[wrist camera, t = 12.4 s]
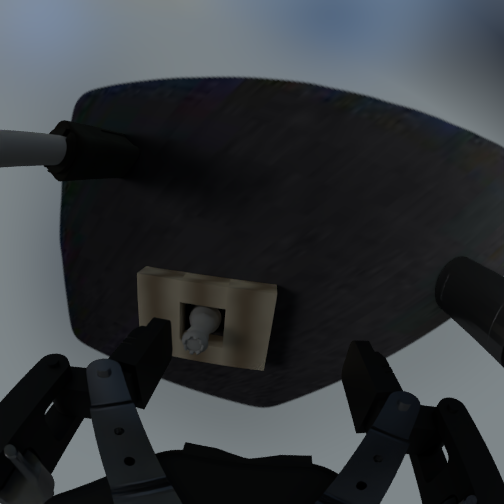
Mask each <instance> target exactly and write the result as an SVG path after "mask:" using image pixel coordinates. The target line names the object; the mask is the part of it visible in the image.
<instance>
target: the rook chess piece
mask: <svg viewBox="0 0 504 504" xmlns="http://www.w3.org/2000/svg"><path fill="white" fill-rule="evenodd" d="M189 320H190V324H191V327H190V328H189V329H188V330H187V332H185V333H184V335H183V336H182V343H183V345H184V347H183V348H184V350H185V351H186V350H189V351H190V352H189V354H192V355H193V353H196V355H199V354H200V353H201V352H204V351H205V350H206V349H207V348H208V339H209V334H210V333H213V332H214V331H215V330H216V329H218V328H219V325H220V323H221V320H222V318H221V313H220V311H219V310H218V308H213V307H207V306H201V305H195V306H194V307H193V308H192V310H191V313H190V316H189Z"/></svg>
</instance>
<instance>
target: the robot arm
mask: <svg viewBox="0 0 504 504" xmlns="http://www.w3.org/2000/svg"><path fill="white" fill-rule="evenodd" d="M435 297H436V302H437V304H438V306H439V307H440V308H441V309H442V310H443V311H444V312H446V313H447V314H448V315H449V316H450V317H451V318H452V319H453V320H454V321H456V322H457V323H458V324H459V325H460V326H461V327H462V328H463V329H464V330H465V331H467V332H468V333H469V334H470V335H471V336H472V337H473V338H474V339H475V340H476V341H477V342H478V343H479V344H480V345H481V346H482V347H483V348H484V349H485V350H486V351H487V352H488V353H489V354H491V355H492V356H493V357H494V358H495V359H496V360H497V361H498V362H499V363H500V364H501V365H502V366H503V367H504V277H503V276H501V275H499V274H497V273H496V272H494V271H492V270H490V269H488V268H486V267H484V266H482V265H480V264H479V263H477V262H475V261H473V260H471V259H469V258H467V257H457V258H455V259H453V260H452V261H450V262H449V263H448V264H447V265H446V266H445V267H444V269H443V270H442V272H441V274H440V275H439V278H438V280H437V284H436V288H435ZM172 351H173V347H172V328H171V321H170V320H167V319H161V318H156V317H154V318H152V320H151V321H150V322H149V323H148V324H147V326H140V327H138V328H136V329H134V330H133V331H132V332H131V333H130V334H129V335H128V336H127V338H126V339H125V340H124V341H123V343H121V344H120V346H119V347H118V348H117V349H116V350H115V351H114V352H113V354H112V355H111V356H110V357H109V358H108V359H99V360H95V361H93V362H91V363H90V364H89V365H88V367H87V368H81V367H71V366H70V364H69V361H68V359H67V358H66V357H65V356H63V355H61V354H50V355H47V356H45V357H43V358H42V359H41V360H40V361H39V362H38V363H37V364H36V365H35V366H34V367H33V368H32V369H31V370H30V371H29V372H28V373H27V374H26V375H25V376H24V377H23V378H22V379H21V380H20V381H19V382H18V383H17V385H16V386H15V387H14V388H13V389H12V390H11V391H10V392H9V393H8V394H7V395H6V397H5V398H4V399H3V400H2V401H1V402H0V503H1V504H380V502H381V501H382V498H383V497H384V495H385V493H386V492H387V490H388V488H389V486H390V485H391V483H392V480H393V479H394V477H395V475H396V473H397V470H398V469H399V467H400V465H401V463H402V460H403V458H404V456H405V454H409V455H410V459H411V462H412V466H413V469H414V473H415V477H416V480H417V484H418V488H419V492H420V496H421V500H422V504H504V482H503V480H502V478H501V476H500V473H499V471H498V469H497V466H496V464H495V462H494V460H493V458H492V456H491V454H490V452H489V450H488V448H487V446H486V444H485V442H484V440H483V439H482V436H481V435H480V433H479V431H478V429H477V427H476V425H475V423H474V421H473V420H472V418H471V416H470V414H469V413H468V411H467V409H466V408H465V406H464V405H463V403H462V402H460V401H458V400H457V399H454V398H444V399H442V400H441V401H440V402H439V403H438V405H437V407H432V406H424V405H420V402H419V400H418V398H416V396H414V395H413V394H411V393H409V392H405V391H403V390H402V388H401V386H400V384H399V382H398V381H397V379H396V377H395V375H394V373H393V371H392V369H391V367H389V364H388V362H387V360H386V358H385V357H384V356H382V355H381V354H380V353H379V352H374V350H373V348H372V346H371V344H370V342H369V341H352V342H351V344H350V347H349V350H348V353H347V356H346V359H345V362H344V366H343V369H342V383H343V386H344V389H345V393H346V397H347V400H348V404H349V408H350V411H351V415H352V418H353V422H354V426H355V430H356V433H366V436H365V438H364V439H363V441H362V442H361V444H360V445H359V447H358V448H357V450H356V451H355V452H354V454H353V455H352V457H351V458H350V460H349V461H348V462H347V464H346V465H345V466H344V468H343V469H342V471H341V472H340V473H339V474H337V473H336V472H334V471H332V470H330V469H328V468H325V467H323V466H319V465H315V464H312V456H297V455H294V456H293V455H278V456H270V457H263V458H252V459H248V458H243V457H240V456H237V455H234V454H231V453H228V452H225V451H223V450H220V449H217V448H212V447H207V446H202V445H196V444H192V443H187V442H186V443H185V445H184V448H183V450H170V451H164V452H160V453H157V454H155V453H154V451H153V449H152V446H151V444H150V442H149V439H148V437H147V435H146V432H145V430H144V428H143V425H142V423H141V420H140V418H139V415H138V412H137V410H136V407H138V408H141V409H145V407H146V405H147V403H148V402H149V399H150V398H151V396H152V394H153V392H154V390H155V388H156V387H157V385H158V383H159V381H160V379H161V377H162V376H163V374H164V372H165V370H166V368H167V366H168V365H169V363H170V361H171V358H172ZM52 402H53V403H54V404H53V405H52V406H51V408H50V409H49V410H48V412H47V413H46V414H45V412H46V409H47V408H48V407H49V406H50V404H51V403H52ZM84 418H90V419H92V423H93V428H94V432H95V437H96V440H97V445H98V448H99V452H100V456H101V459H102V463H103V466H104V470H105V473H106V477H104V478H101V479H98V480H96V481H94V482H91V483H89V484H86V485H83V486H80V487H78V488H75V489H72V490H69V491H66V492H63V493H60V494H57V495H55V496H53V495H54V491H53V490H54V479H53V477H52V475H51V473H52V472H53V470H54V468H55V467H56V465H57V463H58V461H59V460H60V458H61V456H62V454H63V453H64V451H65V449H66V447H67V446H68V444H69V442H70V441H71V439H72V437H73V435H74V434H75V432H76V430H77V429H78V427H79V426H80V424H81V422H82V421H83V419H84ZM443 446H445V448H446V450H447V453H448V456H449V460H448V463H447V460H446V458H445V455H444V453H443V450H442V447H443Z"/></svg>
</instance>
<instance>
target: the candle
mask: <svg viewBox="0 0 504 504" xmlns="http://www.w3.org/2000/svg"><path fill="white" fill-rule="evenodd" d="M139 154H140V151H139V148H138V147H137V146H134V145H133V144H132V143H131V142H130V141H129V140H128V139H127V138H126V137H125V135H124V134H122V133H118V132H114V131H110V130H106V129H102V128H97V127H93V126H89V125H84V124H80V123H75V122H70V121H65V120H64V121H61V122H59V123H58V124H57V126H56V127H55V129H54V130H52V131H51V132H50V133H49V134H44V133H34V132H24V131H11V130H0V167H14V166H36V165H44V167H47V169H48V172H50V173H51V174H52V175H53V176H54V177H55V179H57V180H58V181H72V180H86V179H103V178H121V177H124V176H125V175H126V173H127V172H128V171H129V169H130V168H131V167H132V165H133V164H134V163H135V161H136V160H137V159H138V157H139Z"/></svg>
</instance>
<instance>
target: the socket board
mask: <svg viewBox="0 0 504 504" xmlns="http://www.w3.org/2000/svg"><path fill="white" fill-rule="evenodd" d="M137 287H138V309H139V325H140V326H147V324H148V323H149V322H150V321H151V320H152V318H154V317H156V318H161V319H167V320H170V321H171V328H172V347H173V351H172V356H175V357H180V358H185V359H190V360H195V361H201V362H207V363H212V364H219V365H225V366H232V367H239V368H247V369H255V370H264V366H265V361H266V355H267V350H268V344H269V339H270V333H271V328H272V322H273V316H274V310H275V304H276V298H277V285H274V284H266V283H258V282H251V281H243V280H236V279H228V278H221V277H214V276H207V275H200V274H193V273H186V272H180V271H173V270H167V269H160V268H154V267H148V266H146V267H145V268H143V269H142V270H141V271H139V272H138V273H137ZM186 303H188V304H194V305H201V306H207V307H213V308H220V309H226V313H225V324H224V335H223V336H218V335H212V334H209V339H208V348H207V349H206V350H205V351H204V352H201V353H200V354H199V355H196V353H193V355H192V354H189V352H190V351H189V350H186V351H185V350H184V348H183V347H184V345H183V343H182V336H183V335H184V333H185V332H187V330H185V309H186Z"/></svg>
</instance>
